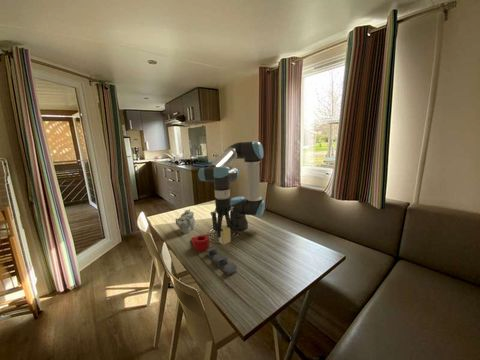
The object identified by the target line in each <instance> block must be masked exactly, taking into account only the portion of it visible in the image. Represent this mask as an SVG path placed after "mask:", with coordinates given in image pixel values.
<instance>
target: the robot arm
mask: <svg viewBox="0 0 480 360" xmlns="http://www.w3.org/2000/svg"><path fill="white" fill-rule="evenodd" d="M263 158H264V147H263V144H262V143H261V142H259V141H239V142H235V143H232V144H231V145H230V146H227V148H225V150H224V152H223V153H222V154H221V155H219V156H218V157H217V158H216V159H215V160H214V161H213V162H211V164H210V165H208V166H207V167H200V168H199V170H198V173H197V176H198V180H199V181H201V182H214V183H213V184H214V185H213V186H214V202H215V205H214V206H215V209H214V210H213V211H210V215H211V220H212V221H211V222H212V230H213V231H215V232H216V234H217V235H216V236H217V237H218V243H220V244H221V245H224V244H223V236H222V231H221V226H223V219H224V217H225V223H226V226H228V227H230V242H231V241H232V240H231V235H232V232H233V231H243V230H246V229H247V228H249V222H248V219H247V217H246V216H254V217H262V216H263V215H264V212H265V208H266V201H265V200H264V199H263V197H262V195H261V187H260V186H261V185H260V163H261V162H262V159H263ZM239 159H240V160H241V159H243V160H244V163H245V164H246V174H247V194H248V195H247V197H245V196H235V197H232V198H231V197H230V196H231V190H230V189H231V186H230V183H233V182H236V181H237V180H238V179H239V178H240V172H239V169H237V168H236V167H228V165H230V164H231V163H232V162H233V161H237V160H239ZM232 230H233V231H232Z"/></svg>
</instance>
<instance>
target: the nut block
mask: <svg viewBox="0 0 480 360" xmlns="http://www.w3.org/2000/svg"><path fill="white" fill-rule="evenodd" d="M221 231H222V236H223V244H222V245H225V244H228V243H231V241H230V236H231V234H230V227H228V226H227V224H224V225H222V226H221Z"/></svg>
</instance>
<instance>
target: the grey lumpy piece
mask: <svg viewBox="0 0 480 360" xmlns="http://www.w3.org/2000/svg"><path fill="white" fill-rule="evenodd" d="M194 215H195V214H194V212H193V211H191V209H189V208H188V209H186V210H185V211H184V212H183V213H182V214H181V215H180V217H179V218H177V217H176V218H175V219H174V220H175V224H176V226H177V228H179V231H180V233H182V232H183V234H184V235H186V234H187V235H188V234H190V233H191V232H192V231H194V230H195V226H196V225H195V222H196V220H195V217H194Z"/></svg>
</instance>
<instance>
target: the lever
mask: <svg viewBox="0 0 480 360" xmlns="http://www.w3.org/2000/svg"><path fill="white" fill-rule="evenodd" d="M209 238H210V237H209V235H206V234H200V235H197V236H195V237H191V240H190V241H191V243H192V246H193V249H194V251H196V252H200V253H201V252H205V251H206V252H207V249H209V248H210V239H209Z"/></svg>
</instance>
